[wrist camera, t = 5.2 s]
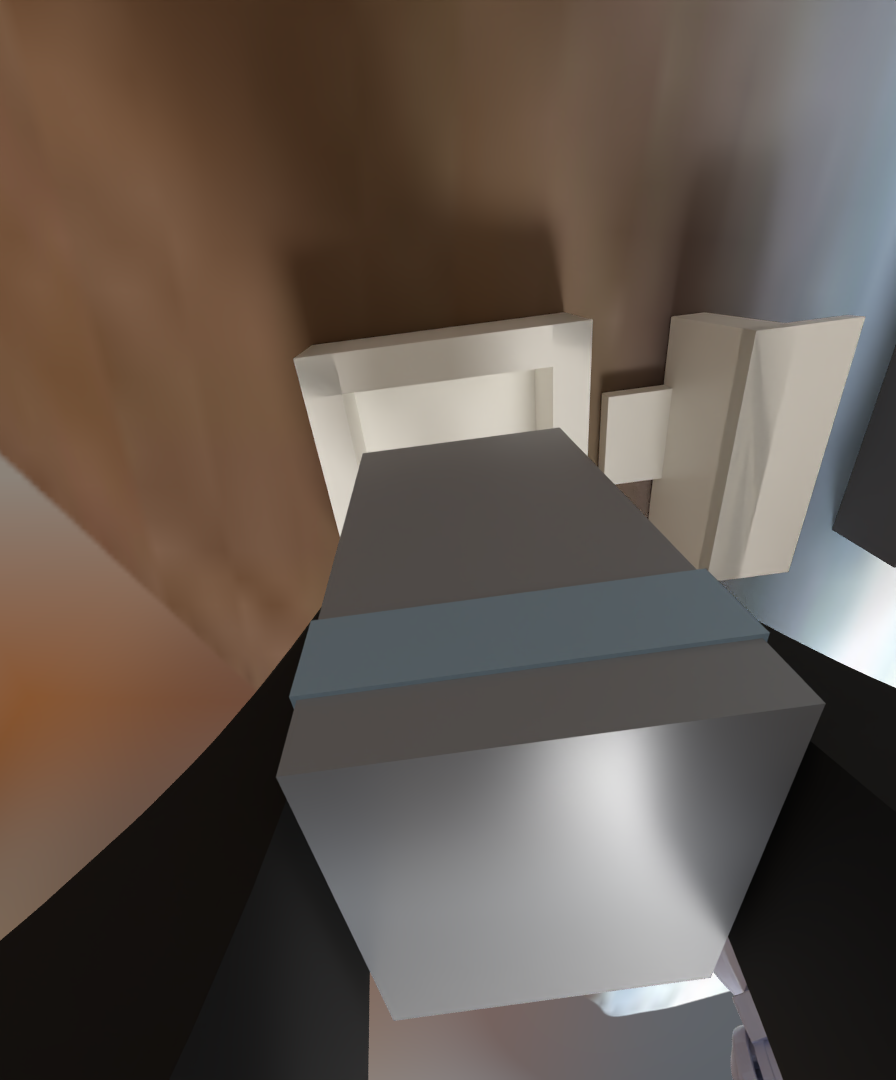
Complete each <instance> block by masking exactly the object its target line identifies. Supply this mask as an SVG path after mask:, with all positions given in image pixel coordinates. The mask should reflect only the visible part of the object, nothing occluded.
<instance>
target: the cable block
mask: <svg viewBox="0 0 896 1080" xmlns="http://www.w3.org/2000/svg"><path fill="white" fill-rule="evenodd" d="M832 530H833V531H835V532H837V533H838V534H840V535H842V536H843V537H845V538H846V539H848V540H850V541H851V542H853V543H855V544H856V545H858V546H860V547H861V548H863V549H864V550H866V551H868V552H869V553H871V554H873V555H874V556H876V557H878V558H879V559H881V560H882V561H884V562H886V563H887V564H889V565H891V566H892V567H896V346H895V349H894V352H893V354H892V357H891V360H890V363H889V366H888V369H887V372H886V375H885V378H884V381H883V383H882V386H881V389H880V392H879V395H878V398H877V401H876V404H875V407H874V409H873V412H872V415H871V418H870V421H869V424H868V427H867V430H866V433H865V436H864V438H863V441H862V444H861V447H860V450H859V453H858V456H857V459H856V462H855V465H854V467H853V470H852V473H851V476H850V479H849V482H848V485H847V488H846V491H845V493H844V496H843V499H842V502H841V505H840V508H839V511H838V514H837V517H836V520H835V522H834V525H833V528H832Z"/></svg>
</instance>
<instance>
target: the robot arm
mask: <svg viewBox="0 0 896 1080" xmlns="http://www.w3.org/2000/svg"><path fill="white" fill-rule="evenodd" d="M320 611H321V608H320V610H319V611H318V612H317V614H316V615H315V616H314V618H313V619H312V620H311V621H313V620H318V618H319V615H320ZM759 623H760V624H761V625H762V626H763V627H764V628H765V629H766V630H767V631H768V632H769V633H770V634H769V637H768V641H767V643H768V644H769V645H770V646H771V647H772V648H773V649H774V650H775V651H776V652H777V653H778V655H779V656H780V657H781V658H782V659H783V660H784V661H785V662H786V663H787V664H788V665H789V666H790V667H791V668H792V669H793V670H794V671H795V672H796V673H797V674H798V675H799V676H800V677H801V678H802V679H803V680H804V682H805V683H806V684H807V685H808V686H809V687H810V688H811V689H812V690H813V691H814V692H815V693H816V694H817V695H818V696H819V697H820V698H821V699H822V700H823V701H824V702H825V703H826V704H825V706H824V709H823V711H822V713H821V716H820V718H819V720H818V723H817V725H816V728H815V730H814V732H813V735H812V737H811V740H810V742H809V744H808V747H807V749H806V751H805V754H804V756H803V759H802V761H801V763H800V766H799V768H798V770H797V773H796V775H795V778H794V780H793V782H792V785H791V787H790V790H789V792H788V794H787V797H786V799H785V801H784V804H783V806H782V809H781V811H780V813H779V816H778V818H777V821H776V823H775V825H774V828H773V830H772V832H771V835H770V837H769V840H768V842H767V844H766V847H765V849H764V851H763V854H762V856H761V859H760V861H759V863H758V866H757V868H756V871H755V873H754V875H753V878H752V880H751V882H750V885H749V887H748V890H747V892H746V894H745V897H744V899H743V901H742V904H741V906H740V909H739V911H738V913H737V916H736V918H735V921H734V923H733V925H732V928H731V930H730V932H729V935H728V937H727V940H726V942H725V944H724V947H723V949H722V952H721V954H720V956H719V959H718V961H717V963H716V966H715V968H714V971H713V972H714V973H715V975H716V976H717V977H718V978H719V980H720V981H721V982H722V983H723V984H724V985H725V986H726V987H727V988H728V989H729V990H730V991H731V992H732V993H733V994H734V995H735V996H733V998H732V999H733V1002H734V1004H735V1006H736V1009H737V1011H738V1013H739V1015H740V1018H741V1020H742V1022H743V1024H744V1025H741V1026H737V1027H736V1028H735V1029H734V1030H733V1035H732V1052H731V1072H732V1078H733V1080H896V688H895V687H892V686H890V685H888V684H885V683H883V682H881V681H879V680H876V679H874V678H872V677H869V676H867V675H865V674H863V673H861V672H859V671H857V670H854V669H852V668H850V667H848V666H846V665H844V664H842V663H840V662H837V661H835V660H833V659H831V658H829V657H827V656H825V655H823V654H821V653H819V652H817V651H815V650H813V649H811V648H809V647H807V646H805V645H803V644H801V643H799V642H797V641H795V640H793V639H791V638H789V637H787V636H785V635H783V634H782V633H780V632H778V631H776V630H774V629H772V628H770V627H768V626H766V625H765V624H763V623H761V622H759ZM309 626H310V623H309V624H308V626H307V627H306V629H305V630H304V631H303V633H302V634H301V635H300V637H299V638H298V639H297V641H296V642H295V643H294V645H293V646H292V647H291V649H290V650H289V651H288V652H287V654H286V655H285V656H284V657H283V659H282V660H281V661H280V663H279V664H278V665H277V666H276V668H275V669H274V670H273V672H272V673H271V674H270V675H269V677H268V678H267V679H266V680H265V682H264V683H263V684H262V685H261V687H260V688H259V689H258V690H257V692H256V693H255V694H254V695H253V696H252V698H251V699H250V700H249V701H248V702H247V703H246V704H245V706H244V707H243V708H242V709H241V710H240V712H239V713H238V714H237V715H236V716H235V717H234V718H233V720H232V721H231V722H230V723H229V724H228V725H227V726H226V728H225V729H224V730H223V731H222V732H221V734H220V735H219V736H218V737H217V738H216V739H215V740H214V741H213V743H211V745H210V746H209V747H208V748H207V749H206V750H205V751H204V752H203V753H202V754H201V755H200V756H199V757H198V758H197V760H195V762H194V763H193V764H192V765H191V766H190V767H189V768H188V769H187V770H186V771H185V772H184V773H183V774H182V775H181V776H180V777H179V778H178V779H177V780H176V781H175V782H174V783H173V784H172V785H171V786H170V787H169V788H168V789H167V790H166V791H165V792H164V793H163V794H162V795H161V796H160V797H159V798H158V799H157V800H156V801H155V802H154V803H153V804H152V805H151V806H150V807H149V808H148V809H147V810H146V811H145V812H144V813H143V814H142V815H141V816H140V817H138V818H137V819H136V821H134V822H133V823H132V824H131V825H130V826H129V827H128V828H127V829H126V830H125V831H123V832H122V833H121V834H120V835H119V836H118V837H117V838H116V839H115V840H113V841H112V842H111V843H110V844H109V845H108V846H107V847H106V848H105V849H104V850H102V851H101V852H100V853H99V854H98V855H97V856H96V857H95V858H94V859H93V860H91V862H89V863H88V864H87V865H86V866H85V867H84V868H83V869H82V870H80V871H79V872H78V873H77V874H76V875H75V876H74V877H73V878H72V879H71V880H69V881H68V882H67V883H66V884H65V885H64V886H63V887H62V888H60V889H59V890H58V891H57V892H56V893H55V894H54V895H53V896H52V897H51V898H49V899H48V900H47V901H46V902H45V903H44V904H43V905H42V906H40V907H39V908H38V909H37V910H36V911H35V912H34V913H32V914H31V915H30V916H29V917H28V918H27V919H25V920H24V921H23V922H22V923H21V924H19V925H18V926H17V927H16V928H15V929H14V930H12V931H11V932H10V933H9V934H8V935H6V936H5V937H4V938H3V939H2V940H1V941H0V1080H368V1048H369V984H370V983H369V982H370V980H369V979H370V971H369V969H368V966H367V964H366V962H365V960H364V958H363V956H362V954H361V952H360V950H359V948H358V946H357V944H356V942H355V940H354V937H353V935H352V933H351V931H350V929H349V927H348V925H347V923H346V921H345V919H344V917H343V915H342V913H341V911H340V909H339V906H338V904H337V902H336V900H335V898H334V896H333V894H332V892H331V890H330V888H329V886H328V884H327V882H326V880H325V877H324V875H323V873H322V871H321V869H320V867H319V865H318V863H317V861H316V859H315V857H314V855H313V853H312V851H311V848H310V846H309V844H308V842H307V840H306V838H305V836H304V834H303V832H302V830H301V828H300V826H299V824H298V822H297V819H296V817H295V815H294V813H293V811H292V809H291V807H290V805H289V803H288V801H287V799H286V797H285V795H284V793H283V791H282V788H281V786H280V784H279V782H278V780H277V778H276V775H277V771H278V768H279V764H280V760H281V756H282V753H283V749H284V745H285V741H286V738H287V734H288V730H289V726H290V723H291V719H292V715H293V712H294V708H293V705H292V703H291V701H290V698H289V695H290V692H291V688H292V685H293V681H294V678H295V674H296V671H297V668H298V664H299V661H300V657H301V654H302V650H303V647H304V643H305V640H306V636H307V633H308V629H309Z"/></svg>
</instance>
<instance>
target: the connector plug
mask: <svg viewBox="0 0 896 1080" xmlns="http://www.w3.org/2000/svg"><path fill="white" fill-rule="evenodd" d="M769 634H770V633H769V632H768V631H767V630H766V629H765V628H764V627H763V626H762V625H761V624H760V623H759V621H758V620H757V619H756V618H755V617H754V616H753V615H752V614H751V613H750V612H749V611H748V610H747V609H746V608H745V607H744V606H743V605H742V604H741V603H740V602H739V601H738V600H737V599H736V598H735V597H734V596H733V595H732V594H731V593H730V592H729V591H728V590H727V589H726V588H725V587H724V586H723V585H722V584H721V583H720V582H719V581H718V580H717V579H716V578H715V577H714V576H713V575H712V574H711V573H710V572H709V571H708V570H707V569H706V568H705V569H698V570H697V569H696V568H695V567H694V566H693V565H692V564H691V563H690V562H689V561H688V560H687V559H686V558H685V557H684V556H683V555H682V554H681V553H680V552H679V551H678V550H677V549H676V548H675V547H674V546H673V545H672V543H671V542H670V541H669V540H668V539H667V538H666V537H665V536H664V535H663V534H662V533H661V532H660V531H659V530H658V529H657V528H656V527H655V526H654V525H653V524H652V523H651V522H650V521H649V520H648V519H647V518H646V516H645V515H644V514H643V513H642V512H641V511H640V510H639V509H638V508H637V507H636V506H635V505H634V504H633V503H632V502H631V501H630V500H629V499H628V498H627V497H626V496H625V495H624V494H623V493H622V492H621V491H620V490H619V488H618V487H617V486H616V485H615V484H614V483H613V482H612V481H611V480H610V479H609V478H608V477H607V476H606V475H605V474H604V473H603V472H602V471H601V470H600V469H599V468H598V467H597V466H596V465H595V464H594V463H593V461H592V460H591V459H590V458H589V457H588V456H587V455H586V454H585V453H584V452H583V451H582V450H581V449H580V448H579V447H578V446H577V445H576V444H575V443H574V442H573V441H572V440H571V439H570V438H569V437H568V436H567V434H566V433H565V432H564V431H563V430H562V429H561V428H560V427H559V428H551V429H544V430H536V431H528V432H521V433H513V434H505V435H498V436H490V437H483V438H475V439H467V440H460V441H452V442H445V443H437V444H429V445H422V446H414V447H406V448H399V449H391V450H384V451H376V452H368V453H363V454H362V458H361V462H360V465H359V469H358V473H357V477H356V480H355V484H354V488H353V492H352V495H351V499H350V503H349V506H348V510H347V514H346V518H345V521H344V525H343V529H342V533H341V536H340V540H339V544H338V547H337V551H336V555H335V559H334V562H333V566H332V570H331V574H330V577H329V581H328V585H327V588H326V592H325V596H324V600H323V603H322V607H321V611H320V615H319V618H318V620H313V621H311V622H310V626H309V629H308V633H307V636H306V640H305V643H304V647H303V650H302V654H301V657H300V661H299V664H298V668H297V671H296V674H295V678H294V681H293V685H292V688H291V692H290V695H289V698H290V701H291V703H292V705H293V708H294V712H293V715H292V719H291V723H290V726H289V730H288V734H287V738H286V741H285V745H284V749H283V753H282V756H281V760H280V764H279V768H278V771H277V775H276V778H277V780H278V782H279V784H280V786H281V788H282V791H283V793H284V795H285V797H286V799H287V801H288V803H289V805H290V807H291V809H292V811H293V813H294V815H295V817H296V819H297V822H298V824H299V826H300V828H301V830H302V832H303V834H304V836H305V838H306V840H307V842H308V844H309V846H310V848H311V851H312V853H313V855H314V857H315V859H316V861H317V863H318V865H319V867H320V869H321V871H322V873H323V875H324V877H325V880H326V882H327V884H328V886H329V888H330V890H331V892H332V894H333V896H334V898H335V900H336V902H337V904H338V906H339V909H340V911H341V913H342V915H343V917H344V919H345V921H346V923H347V925H348V927H349V929H350V931H351V933H352V935H353V937H354V940H355V942H356V944H357V946H358V948H359V950H360V952H361V954H362V956H363V958H364V960H365V962H366V964H367V966H368V969H369V971H370V972H371V975H372V977H373V979H374V981H375V983H376V985H377V987H378V989H379V991H380V993H381V995H382V998H383V999H384V1002H385V1004H386V1006H387V1008H388V1010H389V1012H390V1014H391V1016H392V1018H393V1020H394V1021H395V1020H402V1019H410V1018H417V1017H424V1016H432V1015H440V1014H447V1013H454V1012H461V1011H469V1010H476V1009H484V1008H491V1007H498V1006H506V1005H513V1004H521V1003H528V1002H535V1001H543V1000H550V999H557V998H565V997H572V996H580V995H587V994H594V993H602V992H609V991H616V990H624V989H631V988H638V987H646V986H653V985H661V984H668V983H675V982H683V981H690V980H697V979H705V978H711V975H712V973H713V971H714V968H715V966H716V963H717V961H718V959H719V956H720V954H721V952H722V949H723V947H724V944H725V942H726V940H727V937H728V935H729V932H730V930H731V928H732V925H733V923H734V921H735V918H736V916H737V913H738V911H739V909H740V906H741V904H742V901H743V899H744V897H745V894H746V892H747V890H748V887H749V885H750V882H751V880H752V878H753V875H754V873H755V871H756V868H757V866H758V863H759V861H760V859H761V856H762V854H763V851H764V849H765V847H766V844H767V842H768V840H769V837H770V835H771V832H772V830H773V828H774V825H775V823H776V821H777V818H778V816H779V813H780V811H781V809H782V806H783V804H784V801H785V799H786V797H787V794H788V792H789V790H790V787H791V785H792V782H793V780H794V778H795V775H796V773H797V770H798V768H799V766H800V763H801V761H802V759H803V756H804V754H805V751H806V749H807V747H808V744H809V742H810V740H811V737H812V735H813V732H814V730H815V728H816V725H817V723H818V720H819V718H820V716H821V713H822V711H823V709H824V706H825V704H826V703H825V702H824V701H823V700H822V699H821V698H820V697H819V696H818V695H817V694H816V693H815V692H814V691H813V690H812V689H811V688H810V687H809V686H808V685H807V684H806V683H805V682H804V680H803V679H802V678H801V677H800V676H799V675H798V674H797V673H796V672H795V671H794V670H793V669H792V668H791V667H790V666H789V665H788V664H787V663H786V662H785V661H784V660H783V659H782V658H781V657H780V656H779V655H778V653H777V652H776V651H775V650H774V649H773V648H772V647H771V646H770V645H769V644H768V643H767V641H768V637H769Z"/></svg>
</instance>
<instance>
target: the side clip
mask: <svg viewBox="0 0 896 1080" xmlns="http://www.w3.org/2000/svg"><path fill="white" fill-rule="evenodd" d="M864 320H865V316H854V315H843V316H835V317H827V318H820V319H812V320H805V321H797V322H789V323H780V322H773V321H766V320H758V319H751V318H743V317H736V316H729V315H721V314H714V313H706V312H702V313H695V314H687V315H679V316H672V317H671V324H670V333H669V342H668V351H667V359H666V368H665V377H664V385H658V386H651V387H643V388H636V389H628V390H620V391H613V392H605V393H602V402H601V422H600V442H599V462H598V468H599V469H600V470H601V471H602V472H603V473H604V474H605V475H606V476H607V477H608V478H609V479H610V480H611V481H612V482H613V483H614V484H622V483H629V482H637V481H645V480H652V479H653V482H652V491H651V500H650V508H649V517H648V520H649V521H650V522H651V523H652V524H653V525H654V526H655V527H656V528H657V529H658V530H659V531H660V532H661V533H662V534H663V535H664V536H665V537H666V538H667V539H668V540H669V541H670V542H671V543H672V545H673V546H674V547H675V548H676V549H677V550H678V551H679V552H680V553H681V554H682V555H683V556H684V557H685V558H686V559H687V560H688V561H689V562H690V563H691V564H692V565H693V566H694V567H695V568H696V569H697V570H698V569H705V568H706V569H707V570H708V571H709V572H710V573H711V574H712V575H713V576H714V577H715V578H716V579H717V580H718V581H723V580H731V579H738V578H746V577H754V576H761V575H769V574H776V573H784V572H789V568H790V565H791V562H792V559H793V555H794V552H795V549H796V545H797V542H798V539H799V535H800V532H801V529H802V525H803V522H804V519H805V515H806V512H807V509H808V506H809V502H810V499H811V496H812V492H813V489H814V486H815V482H816V479H817V476H818V472H819V469H820V466H821V462H822V459H823V456H824V453H825V449H826V446H827V443H828V439H829V436H830V433H831V429H832V426H833V423H834V419H835V416H836V413H837V409H838V406H839V403H840V400H841V396H842V393H843V390H844V386H845V383H846V380H847V376H848V373H849V370H850V366H851V363H852V360H853V356H854V353H855V350H856V347H857V343H858V340H859V337H860V333H861V330H862V327H863V323H864Z"/></svg>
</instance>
